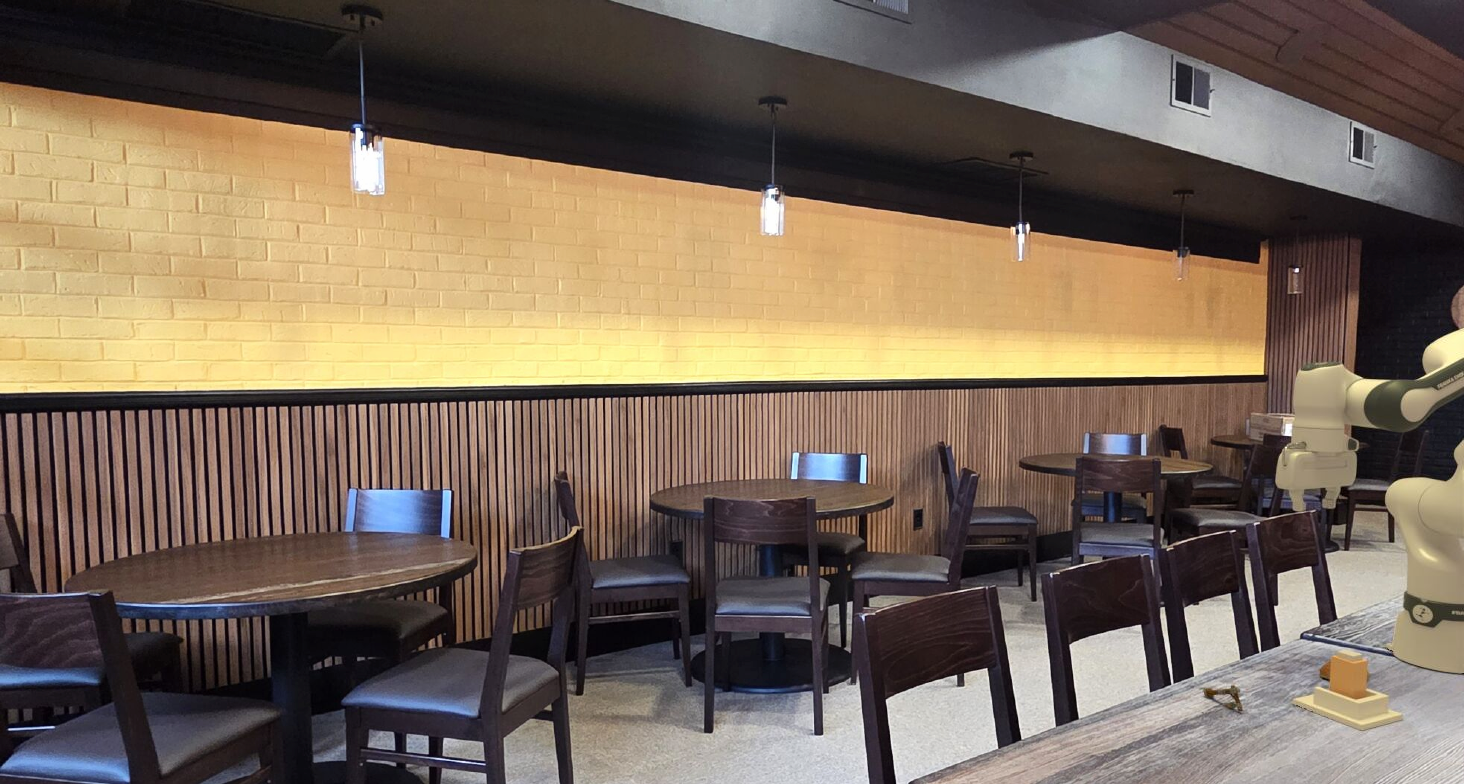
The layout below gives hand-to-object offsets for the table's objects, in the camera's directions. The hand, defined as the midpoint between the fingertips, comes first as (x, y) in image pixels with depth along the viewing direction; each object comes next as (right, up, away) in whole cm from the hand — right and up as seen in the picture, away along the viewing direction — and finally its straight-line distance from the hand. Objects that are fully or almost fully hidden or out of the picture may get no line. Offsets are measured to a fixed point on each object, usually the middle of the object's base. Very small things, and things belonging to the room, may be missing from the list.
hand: (1314, 509), depth 175 cm
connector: (-5, -34, -17) cm, 38 cm away
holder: (-5, -35, -17) cm, 39 cm away
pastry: (+6, -35, 0) cm, 35 cm away
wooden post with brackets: (-26, -35, -14) cm, 46 cm away
